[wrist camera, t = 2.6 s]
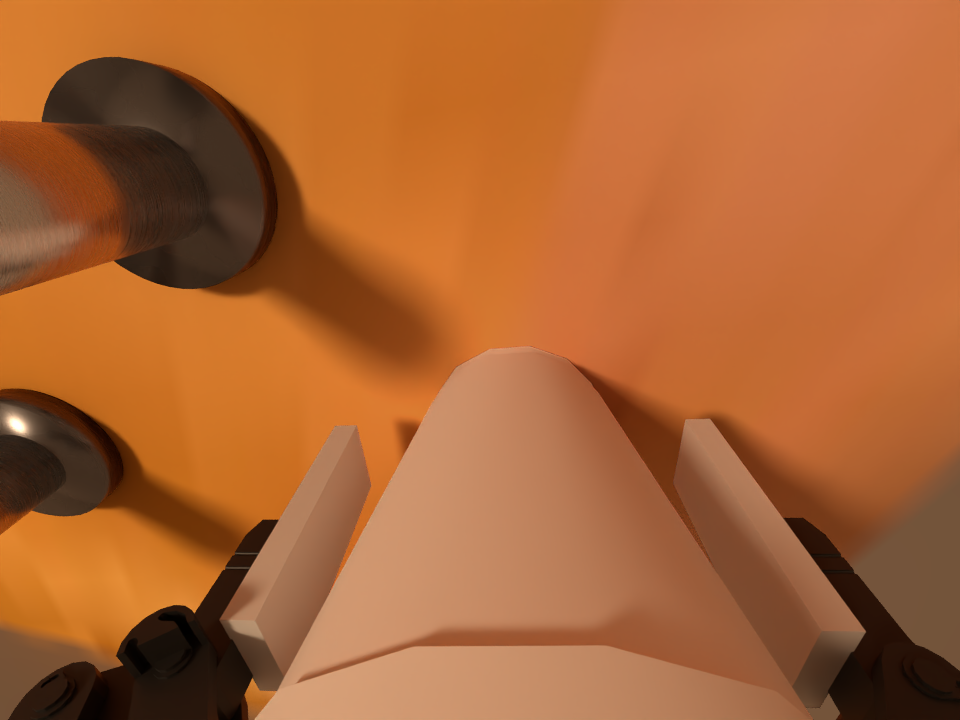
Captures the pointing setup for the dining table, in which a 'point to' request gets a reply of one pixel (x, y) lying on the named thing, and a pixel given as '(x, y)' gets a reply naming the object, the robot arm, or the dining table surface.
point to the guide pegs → (117, 236)
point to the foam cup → (528, 577)
